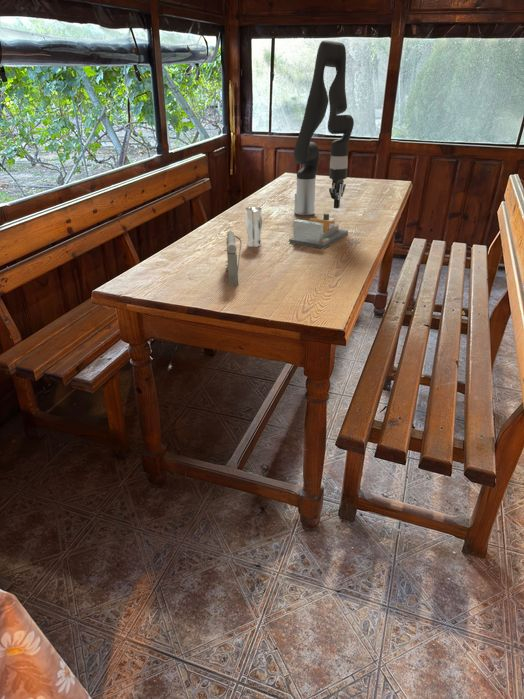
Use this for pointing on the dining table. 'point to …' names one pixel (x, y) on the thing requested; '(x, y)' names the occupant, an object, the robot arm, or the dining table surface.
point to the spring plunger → (326, 217)
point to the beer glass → (253, 225)
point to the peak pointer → (325, 223)
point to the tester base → (325, 238)
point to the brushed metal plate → (308, 231)
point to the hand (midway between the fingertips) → (336, 207)
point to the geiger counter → (232, 258)
